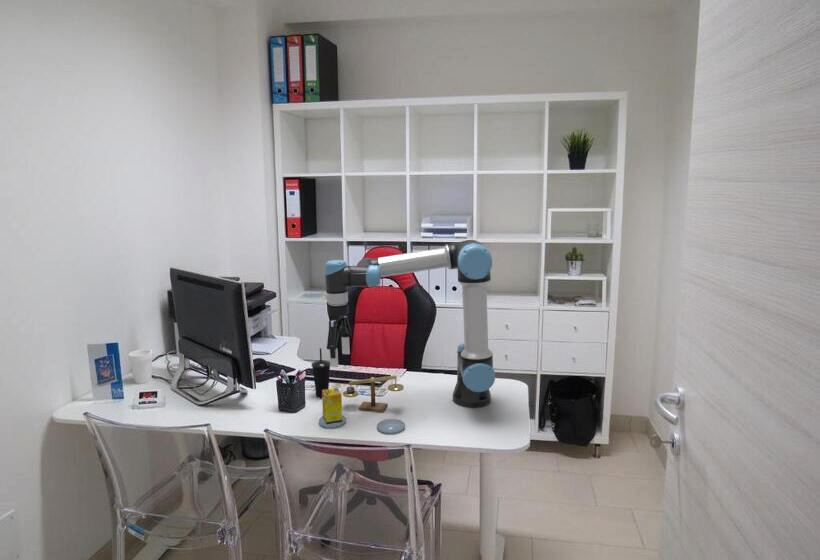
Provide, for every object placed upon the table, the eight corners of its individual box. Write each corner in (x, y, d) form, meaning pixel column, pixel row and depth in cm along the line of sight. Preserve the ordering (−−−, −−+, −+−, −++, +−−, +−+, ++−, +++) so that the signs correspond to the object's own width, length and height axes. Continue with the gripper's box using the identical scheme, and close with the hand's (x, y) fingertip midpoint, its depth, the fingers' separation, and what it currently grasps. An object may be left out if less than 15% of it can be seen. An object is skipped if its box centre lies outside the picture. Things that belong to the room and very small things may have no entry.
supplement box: (322, 418, 212) (321, 389, 210) (338, 415, 214) (337, 387, 212) (326, 424, 207) (325, 395, 204) (342, 421, 209) (341, 393, 207)
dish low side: (350, 418, 215) (350, 414, 214) (341, 429, 205) (340, 426, 205) (324, 415, 217) (324, 412, 217) (314, 427, 207) (314, 424, 207)
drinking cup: (328, 399, 231) (326, 352, 227) (310, 398, 233) (307, 350, 229) (334, 392, 239) (332, 346, 235) (316, 391, 240) (314, 345, 236)
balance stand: (387, 406, 225) (387, 379, 222) (383, 412, 219) (383, 384, 217) (363, 404, 227) (362, 377, 225) (358, 410, 221) (357, 382, 219)
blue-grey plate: (407, 423, 210) (407, 420, 210) (401, 435, 200) (401, 432, 200) (381, 420, 212) (381, 417, 212) (373, 433, 202) (373, 429, 202)
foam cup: (127, 381, 252) (124, 353, 250) (148, 375, 259) (146, 348, 257) (137, 387, 246) (134, 357, 244) (159, 380, 253) (156, 352, 251)
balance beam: (405, 395, 222) (405, 373, 220) (401, 401, 216) (401, 379, 215) (345, 390, 227) (345, 369, 226) (340, 396, 222) (340, 374, 220)
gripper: (338, 295, 220) (341, 348, 224) (315, 311, 196) (318, 371, 200) (357, 295, 219) (359, 349, 223) (336, 312, 195) (339, 372, 199)
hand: (340, 360), depth 212 cm, fingers open, 13 cm apart
